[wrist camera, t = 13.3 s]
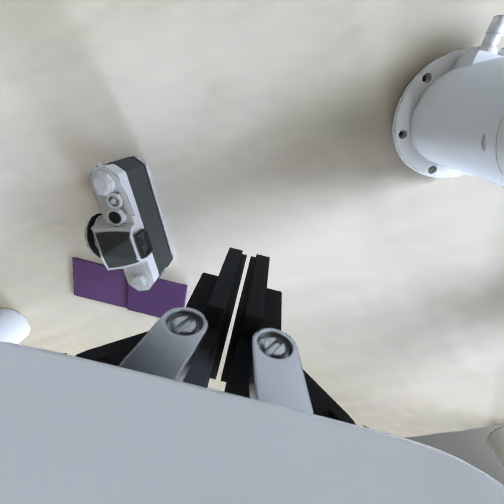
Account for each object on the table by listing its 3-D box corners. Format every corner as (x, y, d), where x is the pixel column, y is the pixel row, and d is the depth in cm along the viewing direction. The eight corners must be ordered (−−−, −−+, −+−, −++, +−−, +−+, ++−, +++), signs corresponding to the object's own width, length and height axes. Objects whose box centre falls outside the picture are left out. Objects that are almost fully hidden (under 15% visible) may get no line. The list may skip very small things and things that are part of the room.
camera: (87, 160, 38) (27, 175, 29) (149, 150, 37) (106, 163, 28) (127, 267, 45) (88, 306, 36) (181, 262, 44) (154, 301, 35)
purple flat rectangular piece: (73, 257, 45) (70, 259, 45) (187, 285, 45) (186, 287, 45) (75, 294, 48) (73, 296, 48) (182, 320, 48) (181, 322, 48)
